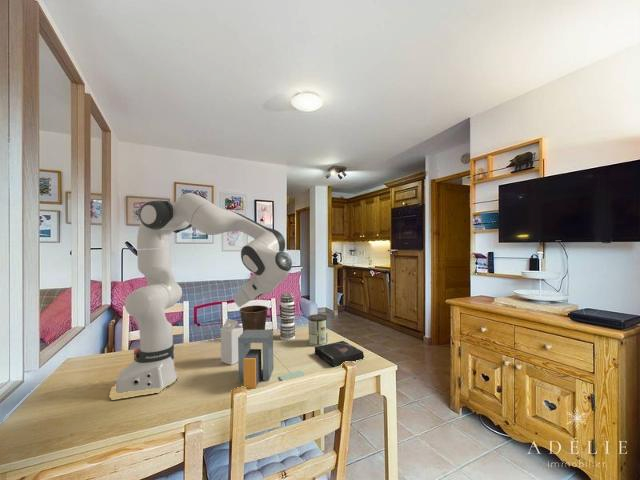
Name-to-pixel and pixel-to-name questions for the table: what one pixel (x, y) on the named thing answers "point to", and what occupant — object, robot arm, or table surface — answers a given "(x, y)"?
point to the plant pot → (253, 317)
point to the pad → (291, 375)
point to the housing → (245, 346)
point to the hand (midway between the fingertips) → (251, 297)
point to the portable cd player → (338, 353)
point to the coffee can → (317, 330)
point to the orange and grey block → (252, 368)
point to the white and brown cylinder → (287, 316)
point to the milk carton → (230, 341)
